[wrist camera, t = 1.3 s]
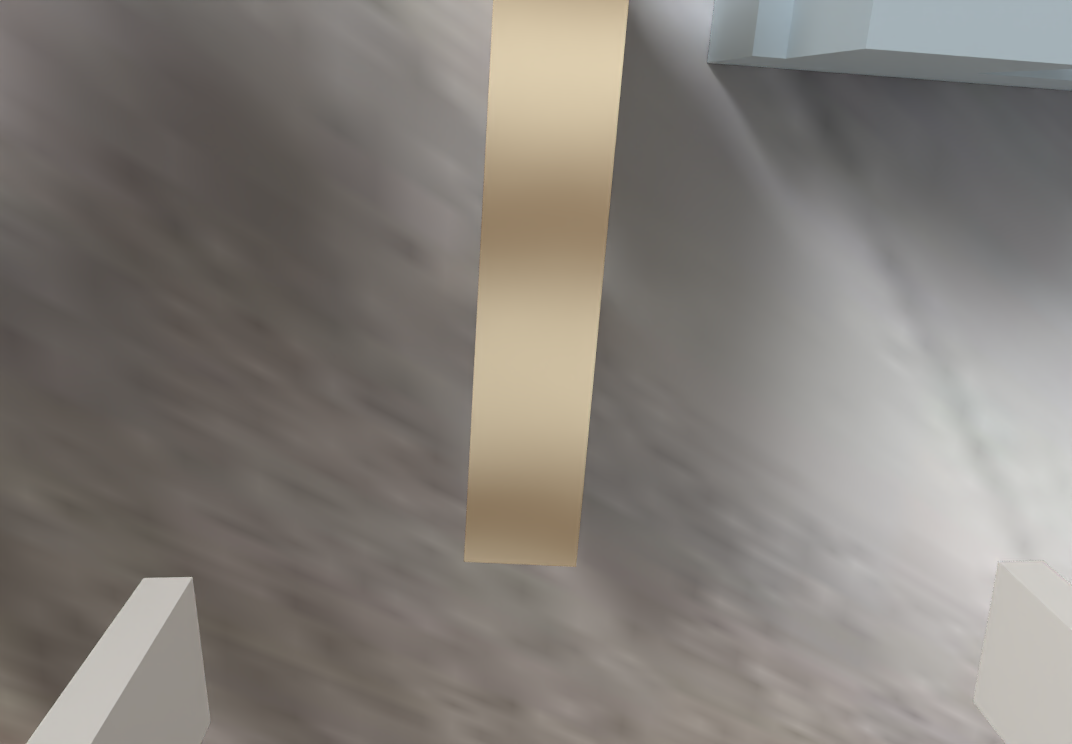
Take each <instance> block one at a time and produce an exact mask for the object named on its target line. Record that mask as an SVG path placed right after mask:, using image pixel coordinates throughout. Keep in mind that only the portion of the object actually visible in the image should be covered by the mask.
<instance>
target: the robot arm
mask: <svg viewBox="0 0 1072 744" xmlns="http://www.w3.org/2000/svg"><path fill="white" fill-rule="evenodd" d="M973 702H974V704H975V705H976V706H977V708H978V709H979V710H980V711H981V713H982V714H983V715H984V716H985V718H986V719H987V720H988V722H989V723H990V724H991V725H992V727H993V728H994V729H995V731H996V732H997V733H998V734H999V736H1000V737H1001V738H1002V739H1003V741H1004V742H1005V743H1006V744H1072V585H1071V584H1070V583H1069V582H1068V581H1066V580H1065V579H1064V578H1063V577H1062V576H1061V575H1059V574H1058V573H1057V572H1056V571H1055V570H1054V569H1052V568H1051V567H1050V566H1049V565H1048V564H1047V563H1046V562H1044V561H998V565H997V571H996V576H995V582H994V587H993V593H992V598H991V604H990V609H989V615H988V621H987V626H986V632H985V637H984V643H983V648H982V654H981V659H980V665H979V670H978V676H977V681H976V687H975V693H974V698H973ZM210 723H211V720H210V712H209V704H208V696H207V688H206V680H205V672H204V664H203V656H202V648H201V640H200V632H199V624H198V616H197V608H196V600H195V592H194V584H193V577H168V578H143V579H142V581H141V582H140V584H139V585H138V586H137V588H136V589H135V591H134V592H133V594H132V595H131V596H130V598H129V599H128V601H127V602H126V603H125V605H124V606H123V608H122V609H121V610H120V612H119V613H118V615H117V616H116V618H115V619H114V620H113V622H112V623H111V625H110V626H109V627H108V629H107V630H106V632H105V633H104V634H103V636H102V637H101V639H100V640H99V641H98V643H97V644H96V646H95V647H94V649H93V650H92V651H91V653H90V654H89V656H88V657H87V658H86V660H85V661H84V663H83V664H82V665H81V667H80V668H79V670H78V671H77V673H76V674H75V675H74V677H73V678H72V680H71V681H70V682H69V684H68V685H67V687H66V688H65V689H64V691H63V692H62V694H61V695H60V696H59V698H58V699H57V701H56V702H55V704H54V705H53V706H52V708H51V709H50V711H49V712H48V713H47V715H46V716H45V718H44V719H43V720H42V722H41V723H40V725H39V726H38V727H37V729H36V730H35V732H34V733H33V735H32V736H31V737H30V739H29V740H28V742H27V743H26V744H201V743H202V741H203V738H204V736H205V734H206V732H207V729H208V727H209V725H210Z"/></svg>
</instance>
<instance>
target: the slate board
mask: <svg viewBox="0 0 1072 744" xmlns="http://www.w3.org/2000/svg"><path fill="white" fill-rule="evenodd" d="M707 63H715V64H728V65H741V66H755V67H768V68H781V69H794V70H807V71H820V72H833V73H846V74H859V75H872V76H885V77H898V78H912V79H925V80H938V81H951V82H964V83H977V84H990V85H1003V86H1016V87H1029V88H1042V89H1055V90H1068V91H1072V0H715V1H714V10H713V18H712V26H711V35H710V43H709V51H708V60H707Z"/></svg>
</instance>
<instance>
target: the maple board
mask: <svg viewBox="0 0 1072 744" xmlns="http://www.w3.org/2000/svg"><path fill="white" fill-rule="evenodd" d="M628 5H629V0H493V15H492V34H491V53H490V72H489V91H488V110H487V129H486V148H485V167H484V186H483V206H482V225H481V244H480V263H479V282H478V301H477V320H476V339H475V358H474V377H473V396H472V416H471V435H470V454H469V473H468V492H467V511H466V530H465V549H464V562H480V563H503V564H525V565H548V566H570V567H576V561H577V551H578V540H579V529H580V519H581V508H582V497H583V487H584V476H585V465H586V454H587V444H588V433H589V422H590V412H591V401H592V390H593V379H594V369H595V358H596V347H597V337H598V326H599V315H600V304H601V294H602V283H603V272H604V262H605V251H606V240H607V230H608V219H609V208H610V197H611V187H612V176H613V165H614V155H615V144H616V133H617V122H618V112H619V101H620V90H621V80H622V69H623V58H624V47H625V37H626V26H627V15H628Z"/></svg>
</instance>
